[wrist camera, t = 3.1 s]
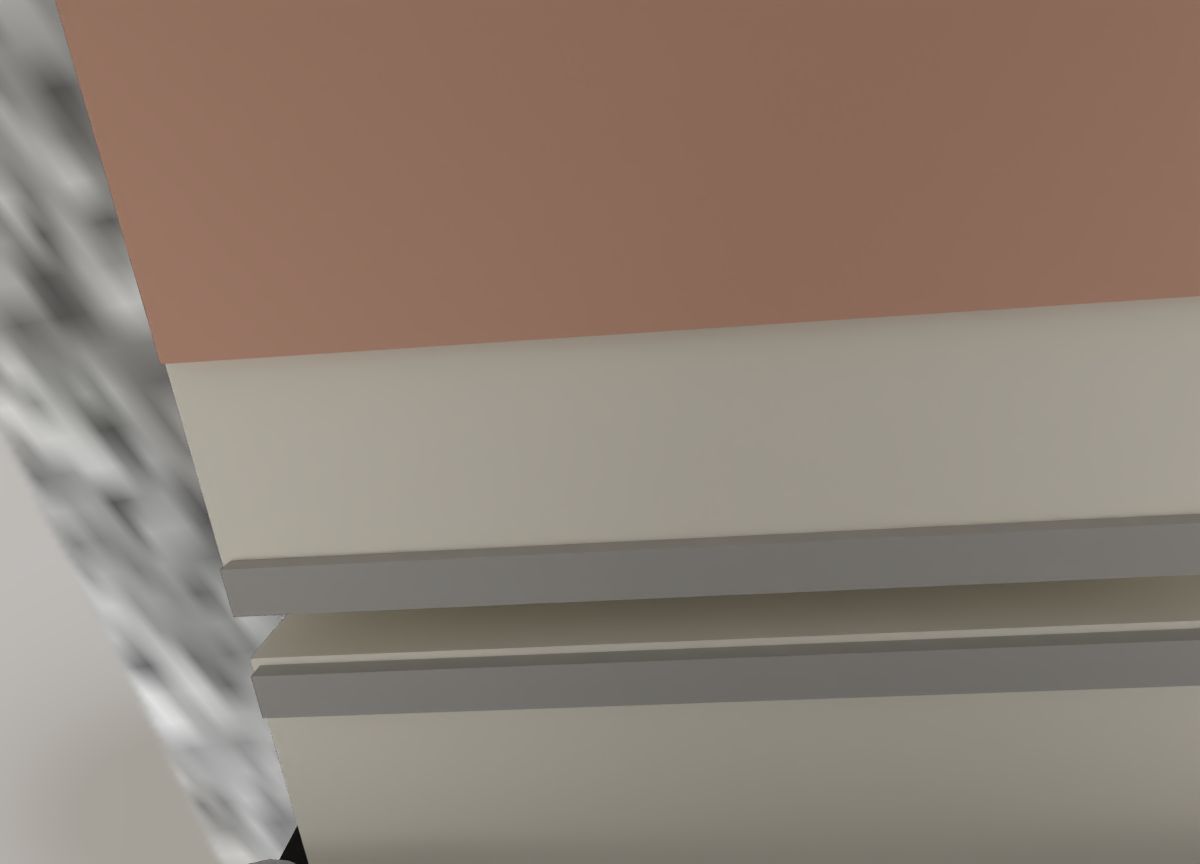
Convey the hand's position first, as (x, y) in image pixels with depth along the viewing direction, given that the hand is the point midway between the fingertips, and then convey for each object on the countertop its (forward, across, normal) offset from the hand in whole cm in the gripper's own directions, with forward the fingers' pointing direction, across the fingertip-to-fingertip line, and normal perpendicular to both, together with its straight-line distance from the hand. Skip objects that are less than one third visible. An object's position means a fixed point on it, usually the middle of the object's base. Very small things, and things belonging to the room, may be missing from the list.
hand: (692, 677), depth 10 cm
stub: (+1, 0, -1) cm, 2 cm away
